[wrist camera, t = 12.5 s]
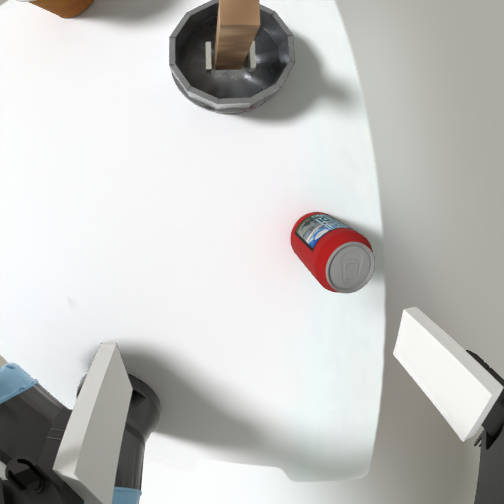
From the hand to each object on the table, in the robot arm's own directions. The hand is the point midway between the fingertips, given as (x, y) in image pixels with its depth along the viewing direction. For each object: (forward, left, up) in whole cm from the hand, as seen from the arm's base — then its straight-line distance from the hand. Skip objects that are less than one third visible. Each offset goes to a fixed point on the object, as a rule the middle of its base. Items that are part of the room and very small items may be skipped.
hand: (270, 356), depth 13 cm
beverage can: (+11, -3, -27) cm, 29 cm away
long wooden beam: (+1, +20, -26) cm, 33 cm away
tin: (+1, +20, -27) cm, 33 cm away
